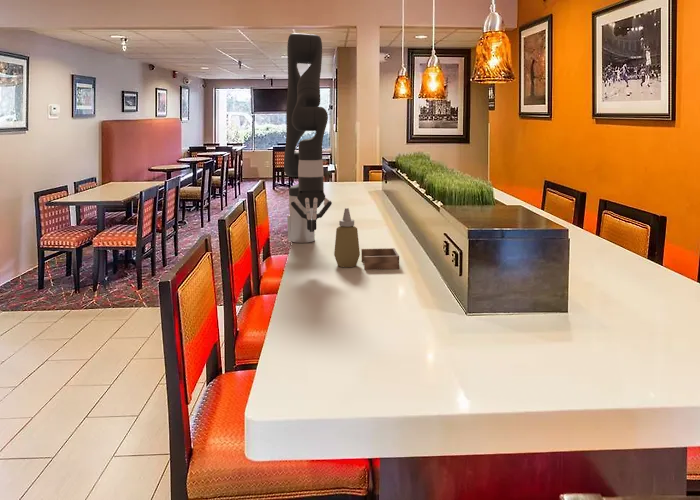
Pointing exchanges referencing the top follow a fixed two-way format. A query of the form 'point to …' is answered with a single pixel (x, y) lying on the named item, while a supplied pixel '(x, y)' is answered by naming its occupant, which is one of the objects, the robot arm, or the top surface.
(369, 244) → the top surface
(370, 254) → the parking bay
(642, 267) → the top surface
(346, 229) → the squeeze bottle
